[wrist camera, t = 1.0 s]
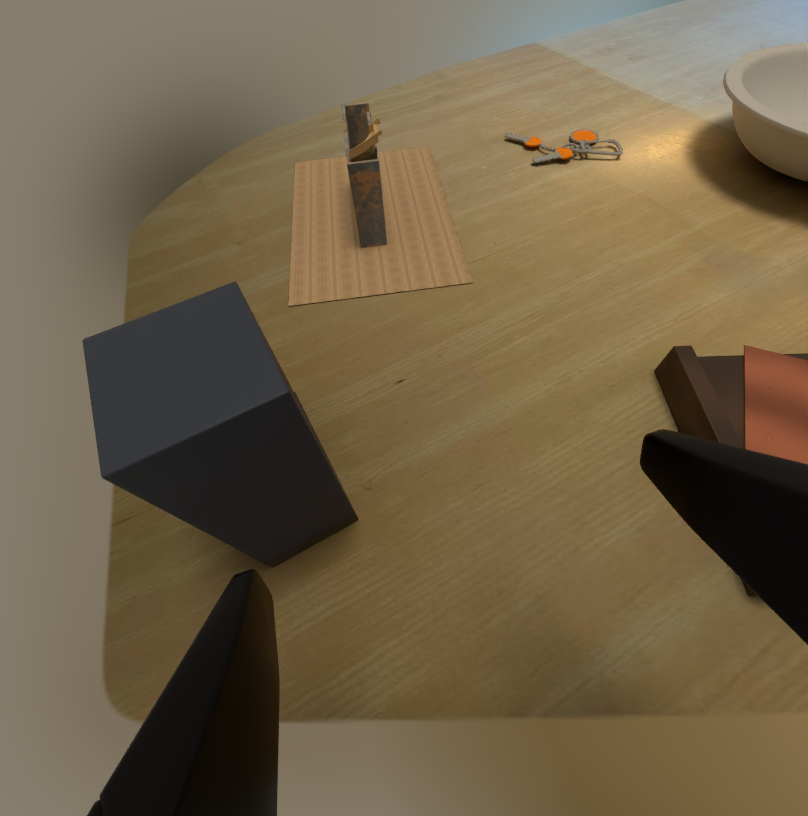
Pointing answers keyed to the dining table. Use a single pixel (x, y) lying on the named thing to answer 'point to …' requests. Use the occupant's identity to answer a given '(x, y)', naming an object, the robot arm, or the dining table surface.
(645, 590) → the dining table surface
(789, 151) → the white vessel sink
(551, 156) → the key chain
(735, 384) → the brown serving tray
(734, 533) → the robot arm
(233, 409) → the charcoal gray box
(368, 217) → the architectural model on board
